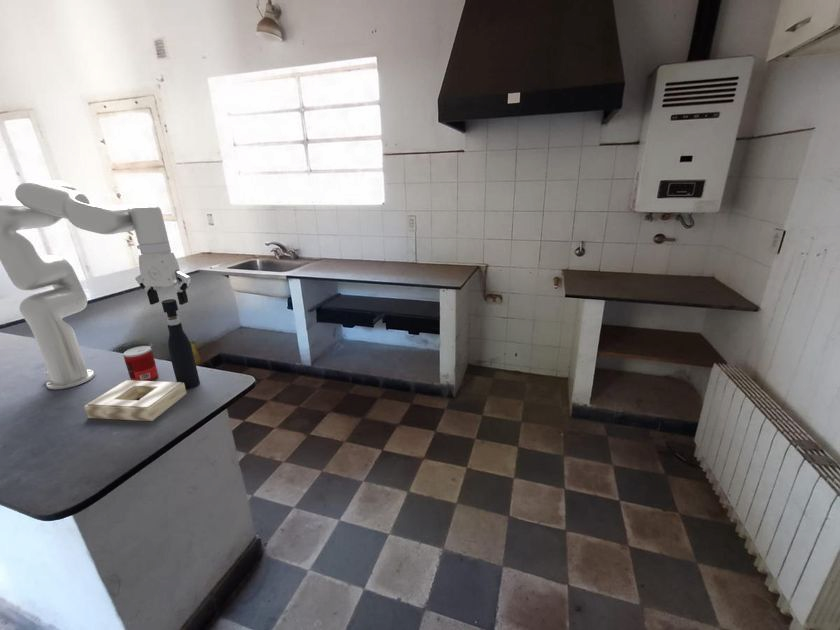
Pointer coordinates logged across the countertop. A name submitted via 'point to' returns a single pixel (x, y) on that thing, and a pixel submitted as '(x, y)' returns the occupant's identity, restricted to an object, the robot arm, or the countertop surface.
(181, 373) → the black water bottle
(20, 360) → the countertop surface
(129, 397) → the holder block
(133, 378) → the canned food
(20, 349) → the countertop surface
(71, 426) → the countertop surface
